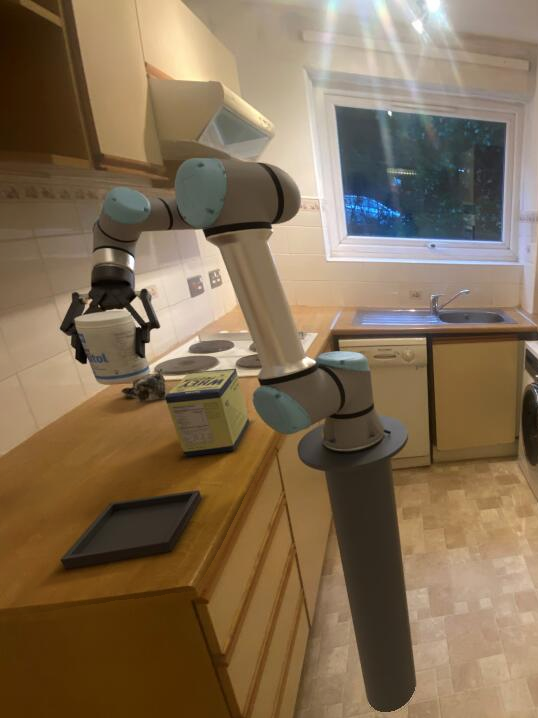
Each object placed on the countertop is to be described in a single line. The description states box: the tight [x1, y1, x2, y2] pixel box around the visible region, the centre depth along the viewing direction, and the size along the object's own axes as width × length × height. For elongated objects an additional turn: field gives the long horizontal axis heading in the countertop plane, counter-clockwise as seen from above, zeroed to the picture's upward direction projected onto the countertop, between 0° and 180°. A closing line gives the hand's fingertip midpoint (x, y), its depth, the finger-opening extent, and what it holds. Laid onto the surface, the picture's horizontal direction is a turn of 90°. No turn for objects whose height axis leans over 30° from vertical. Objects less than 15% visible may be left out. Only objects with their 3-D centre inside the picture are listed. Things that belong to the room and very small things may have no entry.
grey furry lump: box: [121, 368, 167, 402], centre depth 130 cm, size 12×11×15 cm
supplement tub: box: [74, 310, 151, 386], centre depth 96 cm, size 10×10×15 cm
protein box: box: [164, 368, 250, 458], centre depth 104 cm, size 10×16×16 cm
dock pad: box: [60, 489, 203, 570], centre depth 77 cm, size 15×15×2 cm
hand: (111, 358), depth 94 cm, fingers closed on supplement tub, 10 cm apart
